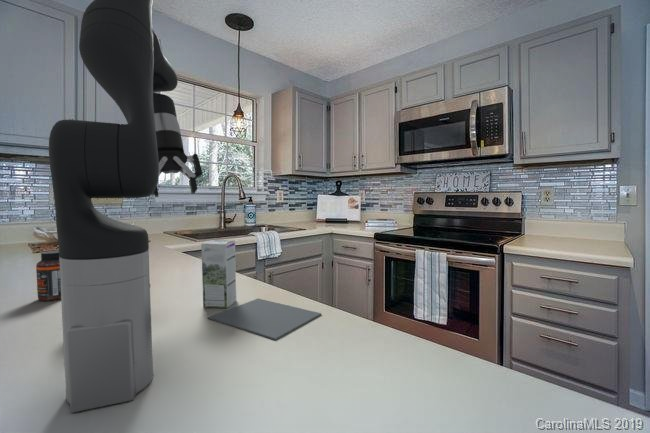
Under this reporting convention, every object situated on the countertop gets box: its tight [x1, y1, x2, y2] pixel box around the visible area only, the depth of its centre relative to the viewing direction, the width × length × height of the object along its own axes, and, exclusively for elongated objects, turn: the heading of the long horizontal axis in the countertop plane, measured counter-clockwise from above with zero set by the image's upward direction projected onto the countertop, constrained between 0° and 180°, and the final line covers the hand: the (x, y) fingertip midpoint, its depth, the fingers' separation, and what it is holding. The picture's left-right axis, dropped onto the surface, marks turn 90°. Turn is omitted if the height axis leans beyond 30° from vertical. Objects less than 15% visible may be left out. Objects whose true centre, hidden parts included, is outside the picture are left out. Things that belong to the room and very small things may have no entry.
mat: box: [207, 298, 322, 341], centre depth 65 cm, size 18×14×1 cm
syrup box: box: [200, 239, 237, 309], centre depth 72 cm, size 6×6×14 cm
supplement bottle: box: [35, 250, 61, 302], centre depth 77 cm, size 6×6×11 cm
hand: (175, 194), depth 81 cm, fingers open, 8 cm apart
